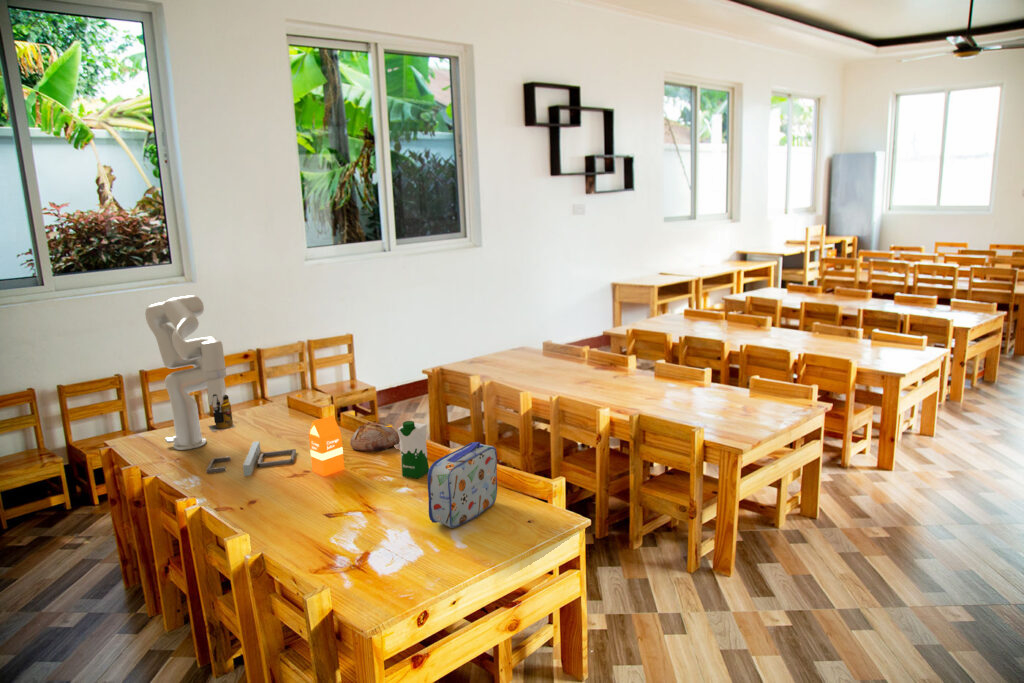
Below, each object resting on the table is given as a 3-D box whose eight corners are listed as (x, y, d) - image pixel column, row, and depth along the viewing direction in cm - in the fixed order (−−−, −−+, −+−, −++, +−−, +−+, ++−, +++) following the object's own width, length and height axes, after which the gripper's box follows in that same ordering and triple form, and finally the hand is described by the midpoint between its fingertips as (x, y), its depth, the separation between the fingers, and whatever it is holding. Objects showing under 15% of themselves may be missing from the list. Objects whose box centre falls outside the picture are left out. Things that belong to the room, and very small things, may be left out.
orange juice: (344, 468, 263) (339, 417, 259) (324, 476, 257) (318, 423, 253) (332, 464, 268) (327, 413, 264) (312, 471, 262) (306, 419, 258)
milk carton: (398, 477, 253) (394, 423, 249) (412, 467, 261) (408, 415, 257) (419, 480, 249) (415, 426, 245) (433, 470, 257) (429, 418, 253)
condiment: (236, 427, 268) (232, 396, 265) (212, 432, 263) (208, 401, 261) (231, 422, 274) (227, 392, 271) (208, 427, 269) (204, 396, 267)
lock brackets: (206, 473, 265) (206, 469, 264) (213, 461, 276) (212, 458, 276) (293, 463, 271) (292, 459, 270) (296, 452, 282) (295, 448, 282)
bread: (347, 446, 290) (345, 422, 288) (395, 437, 297) (392, 414, 296) (355, 456, 275) (352, 431, 273) (405, 447, 282) (402, 422, 281)
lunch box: (477, 494, 236) (474, 431, 231) (504, 500, 230) (501, 435, 226) (425, 529, 213) (420, 460, 209) (453, 536, 208) (448, 465, 203)
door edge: (244, 476, 261) (242, 465, 260) (254, 451, 286) (253, 441, 285) (251, 475, 261) (249, 464, 260) (260, 450, 286) (259, 441, 285)
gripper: (209, 368, 271) (215, 413, 276) (199, 380, 255) (205, 428, 259) (229, 366, 273) (235, 411, 277) (221, 378, 256) (227, 426, 260)
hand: (221, 419), depth 268 cm, fingers closed on condiment, 6 cm apart
